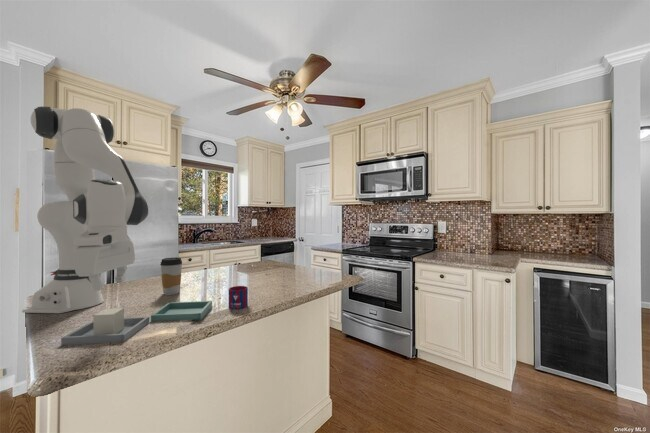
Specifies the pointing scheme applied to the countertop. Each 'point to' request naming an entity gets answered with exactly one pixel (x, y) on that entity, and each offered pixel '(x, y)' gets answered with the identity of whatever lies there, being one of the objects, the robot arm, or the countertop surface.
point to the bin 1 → (87, 334)
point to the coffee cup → (171, 275)
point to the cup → (238, 297)
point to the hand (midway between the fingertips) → (109, 285)
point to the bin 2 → (182, 311)
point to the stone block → (108, 321)
